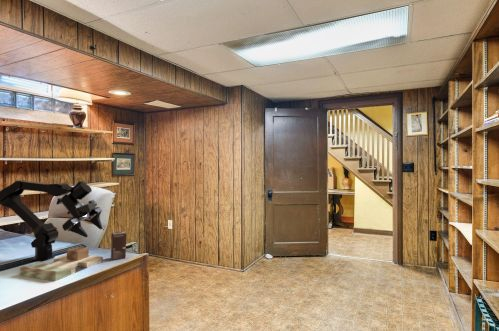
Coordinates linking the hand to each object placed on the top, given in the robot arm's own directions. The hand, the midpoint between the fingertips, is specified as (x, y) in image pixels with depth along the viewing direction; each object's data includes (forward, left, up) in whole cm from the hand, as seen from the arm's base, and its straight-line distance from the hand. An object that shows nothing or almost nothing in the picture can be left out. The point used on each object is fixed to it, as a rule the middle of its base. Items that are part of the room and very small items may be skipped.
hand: (94, 232), depth 138 cm
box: (+8, +6, -13) cm, 16 cm away
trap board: (-4, -12, -13) cm, 18 cm away
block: (-4, -5, -11) cm, 12 cm away
